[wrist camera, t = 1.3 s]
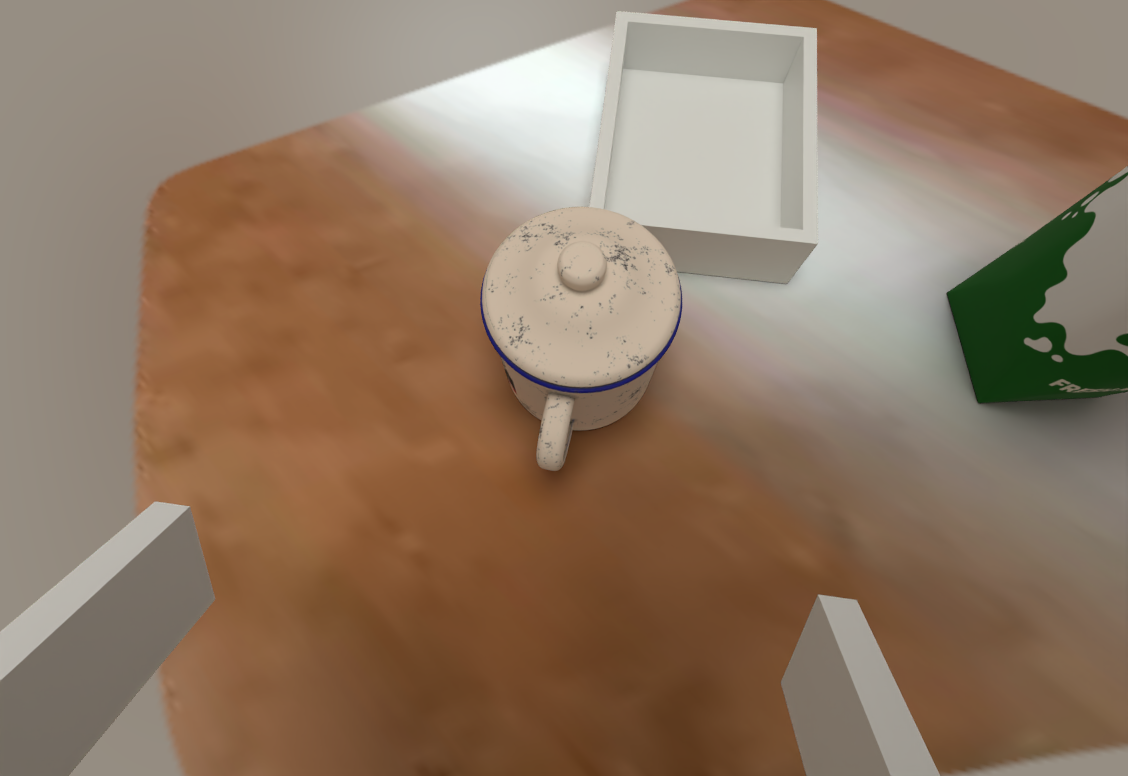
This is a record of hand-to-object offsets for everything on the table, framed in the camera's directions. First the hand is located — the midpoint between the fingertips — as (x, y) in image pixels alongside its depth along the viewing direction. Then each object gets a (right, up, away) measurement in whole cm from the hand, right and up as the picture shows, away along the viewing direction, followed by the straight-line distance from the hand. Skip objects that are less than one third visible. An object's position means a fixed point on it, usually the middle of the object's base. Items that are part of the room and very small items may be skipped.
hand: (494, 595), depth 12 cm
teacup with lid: (+2, +5, +21) cm, 22 cm away
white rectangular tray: (+10, +19, +25) cm, 33 cm away
